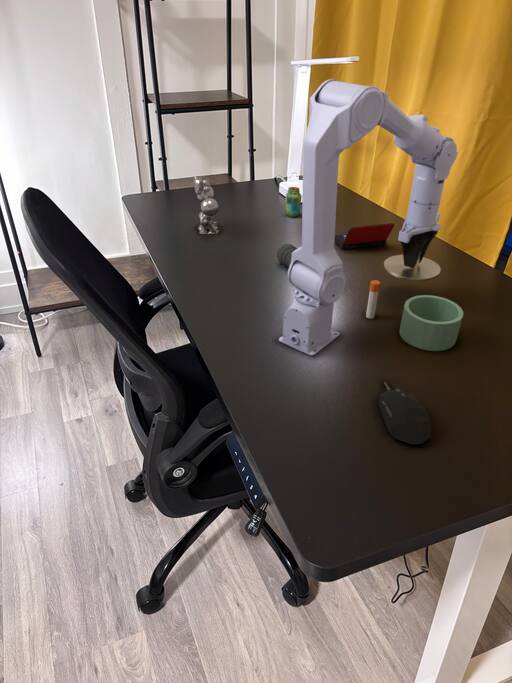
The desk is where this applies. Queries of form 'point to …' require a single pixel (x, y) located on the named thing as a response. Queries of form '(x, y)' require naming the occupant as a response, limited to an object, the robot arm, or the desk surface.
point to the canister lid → (412, 269)
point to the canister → (430, 322)
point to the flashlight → (285, 254)
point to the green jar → (293, 202)
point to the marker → (372, 299)
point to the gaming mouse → (404, 416)
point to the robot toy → (206, 205)
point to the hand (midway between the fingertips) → (412, 263)
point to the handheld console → (364, 236)
